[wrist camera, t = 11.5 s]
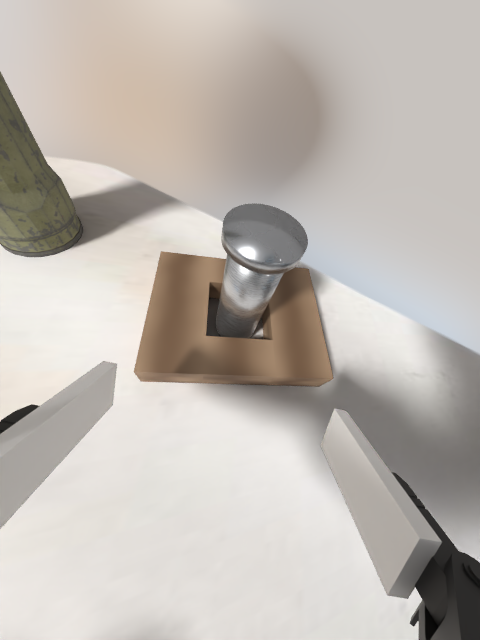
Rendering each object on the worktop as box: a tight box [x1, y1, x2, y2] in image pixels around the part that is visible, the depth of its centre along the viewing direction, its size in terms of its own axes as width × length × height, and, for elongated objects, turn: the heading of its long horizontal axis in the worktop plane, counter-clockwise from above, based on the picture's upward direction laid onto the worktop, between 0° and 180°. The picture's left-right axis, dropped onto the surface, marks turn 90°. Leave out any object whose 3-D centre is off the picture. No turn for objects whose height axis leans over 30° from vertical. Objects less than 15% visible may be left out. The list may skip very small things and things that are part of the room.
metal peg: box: [216, 204, 308, 339], centre depth 20 cm, size 6×6×13 cm
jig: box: [134, 252, 333, 387], centre depth 25 cm, size 18×14×3 cm
